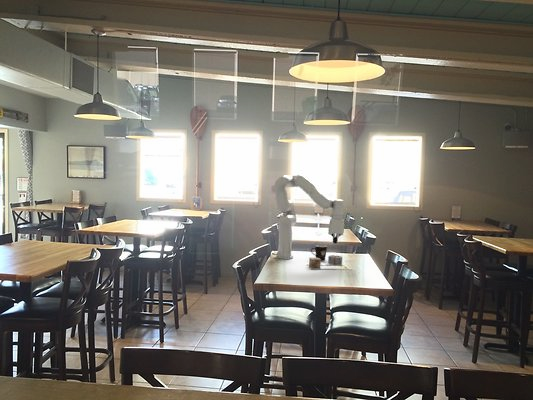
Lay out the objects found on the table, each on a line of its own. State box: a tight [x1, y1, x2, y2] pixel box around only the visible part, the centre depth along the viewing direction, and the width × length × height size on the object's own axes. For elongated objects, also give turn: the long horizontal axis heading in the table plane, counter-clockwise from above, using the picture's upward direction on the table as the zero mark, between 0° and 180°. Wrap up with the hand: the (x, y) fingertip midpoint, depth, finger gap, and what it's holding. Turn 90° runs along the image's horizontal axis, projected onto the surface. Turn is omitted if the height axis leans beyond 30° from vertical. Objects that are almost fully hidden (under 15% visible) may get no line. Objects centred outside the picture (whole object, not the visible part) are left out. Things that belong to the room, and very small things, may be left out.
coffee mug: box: [310, 244, 328, 262], centre depth 319 cm, size 12×9×10 cm
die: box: [308, 257, 322, 269], centre depth 290 cm, size 6×6×6 cm
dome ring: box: [327, 254, 343, 265], centre depth 307 cm, size 9×9×5 cm
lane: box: [310, 264, 352, 271], centre depth 292 cm, size 27×15×1 cm, turn 99°
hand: (334, 243), depth 307 cm, fingers closed
